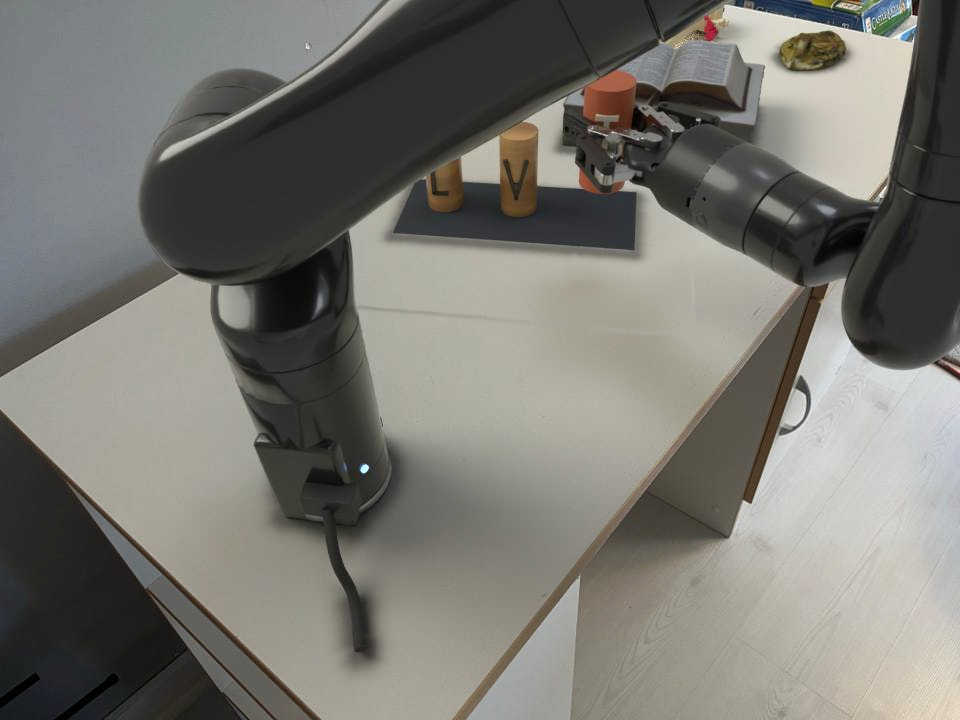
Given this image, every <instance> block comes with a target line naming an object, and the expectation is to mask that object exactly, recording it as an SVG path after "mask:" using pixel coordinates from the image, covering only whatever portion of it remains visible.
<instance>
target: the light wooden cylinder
mask: <svg viewBox="0 0 960 720" xmlns="http://www.w3.org/2000/svg"><path fill="white" fill-rule="evenodd" d="M498 149H499V150H498V151H499V156H498V157H499V184H500V206H501V210H502V212H503V213H504V214H506V215H508V216H512V217H525V216H528V215H531V214H532V213H534V212H535V210H536V208H537V186H538V174H539V173H538V172H539V171H538V169H539V168H538V167H539V128H538V127H537V125H535V124H534V123H531V122H528V121H522V122H520V123H519V124H517V125H515V126H514V127H512V128H510V129H508V130H507V131H505V132H503V133H502V134H500V135H498Z"/></svg>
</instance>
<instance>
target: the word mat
mask: <svg viewBox="0 0 960 720" xmlns="http://www.w3.org/2000/svg"><path fill="white" fill-rule="evenodd" d="M463 193H464V204H463V205H462V207H460V208H459V209H457V210H455V211H452V212H438V211H435V210H433V209H431V208H430V206H429V204H428V195H427V186H426V178H425V179H424V178H422V179H420V180H419V181H417V182H416V183H414V184H413V185H412V188H411V189H410V193H409V195H408V197H407V199H406V202H405V204H404V206H403V208H402V210H401V212H400V214H399V218H398V220H397V222H396V225H395V226H394V229H393V232H392V234H400V235H413V236H414V235H415V236H428V237H429V236H430V237H443V238H458V239H469V240H470V239H471V240H483V241H498V242H511V243H512V242H513V243H526V244H538V245H539V244H541V245H554V246H568V247H569V246H570V247H582V248H583V247H584V248H594V249H595V248H596V249H611V250H623V251H624V250H625V251H635V241H636V220H637V219H636V216H637V214H636V213H637V191H624V190H619V191H617V192H614V193H610V194H596V193H591V192H589V191H586V190H585V189H583V188H574V187H559V186H542V185H541V186H540V185H537V208H536V210H535V212H534V213H532V214H531V215H528V216H525V217H512V216H508V215H506V214H504V213H503V212H502V210H501V206H500V183H491V182H490V183H489V182H474V181H463Z"/></svg>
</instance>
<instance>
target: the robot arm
mask: <svg viewBox="0 0 960 720" xmlns="http://www.w3.org/2000/svg"><path fill="white" fill-rule="evenodd" d="M733 1H734V0H380V1H379V2H378V3H377V4H376V5H375V7H374V8H373V9H371V11H370V12H369V13H368V14H367V15H366V16H365V17H364V19H363V20H361V21H360V22H359V24H358V25H357V26H356V27H355V28H354V29H353V30H352V31H351V32H350V33H349V34H348V35H347V36H346V37H345V38H344V39H342V41H341V42H340V43H338V44H337V46H335V47H334V48H333V49H332V50H331V51H329V52H328V53H326V55H325V56H323V57H322V58H321V59H319V60H318V61H317V62H316V63H314V64H313V65H312V66H310V67H308V68H307V69H306V70H304V71H303V72H301V73H300V74H298V75H296V76H295V77H294V78H292V79H290V80H289V81H286V80H284V79H282V78H280V77H278V76H275V75H274V74H271V73H269V72H266V71H262V70H259V69H254V68H246V67H245V68H243V67H239V68H238V67H237V68H235V67H234V68H226V69H222V70H218V71H215V72H212V73H209V74H208V75H205V76H204V77H202V78H200V79H199V80H197V81H196V82H195V83H193V84H192V85H191V86H190V87H189V88H188V89H187V90H186V91H185V92H184V93H183V94H182V96H181V97H180V99H179V100H178V102H177V103H176V105H175V107H174V109H173V111H172V113H171V114H170V115H169V116H168V119H167V120H166V122H165V124H164V126H163V127H162V129H161V131H160V133H158V136H157V137H156V140H155V141H154V143H153V145H152V147H151V148H150V150H149V152H148V154H147V156H146V158H145V162H144V164H143V168H142V171H141V174H140V177H139V184H138V191H137V212H138V218H139V223H140V226H141V229H142V232H143V235H144V237H145V239H146V242H147V243H148V244H149V246H150V248H151V249H152V251H153V253H155V255H156V256H157V257H158V259H159V260H161V261H162V262H163V263H164V264H165V265H166V266H167V267H169V268H170V269H171V270H173V271H174V272H176V273H178V274H180V275H182V276H184V277H186V278H189V279H191V280H193V281H196V282H200V283H204V284H207V285H210V299H209V300H210V305H209V307H210V309H209V310H210V311H209V312H210V316H211V317H210V318H211V322H212V325H213V328H214V331H215V333H216V336H217V338H218V341H219V344H220V346H221V348H222V352H223V354H224V356H225V358H226V360H227V363H228V365H229V367H230V370H231V372H232V376H233V378H234V381H235V383H236V385H237V387H238V390H239V392H240V395H241V398H242V400H243V402H244V405H245V407H246V409H247V412H248V414H249V417H250V420H251V422H252V424H253V426H254V429H255V431H256V434H257V435H256V437H255V439H254V441H253V449H254V450H255V453H256V455H257V457H258V459H259V462H260V465H261V467H262V469H263V471H264V474H265V476H266V478H267V481H268V483H269V486H270V488H271V491H272V492H273V495H274V497H275V499H276V502H277V504H278V507H279V509H280V511H281V514H282V516H283V517H285V518H292V519H300V520H308V521H311V522H317V523H323V529H324V538H325V545H326V550H327V555H328V558H329V562H330V565H331V568H332V570H333V572H334V574H335V576H336V578H337V580H338V581H339V583H340V585H341V586H342V588H343V590H344V592H345V595H346V598H347V601H348V606H349V610H350V616H351V630H352V631H351V632H352V642H353V650H354V652H355V653H362V652H364V651H366V650H367V643H366V635H365V634H366V633H365V622H364V613H363V608H362V602H361V599H360V595H359V592H358V588H357V587H356V584H355V582H354V580H353V579H352V577H351V575H350V573H349V572H348V570H347V568H346V567H345V564H344V561H343V558H342V554H341V551H340V547H339V542H338V541H339V539H338V534H337V525H336V524H338V525H344V526H355V525H356V524H357V523H358V521H359V520H358V519H359V517H360V515H361V514H362V513H364V512H366V511H367V510H369V509H370V508H371V507H372V506H373V505H375V504H376V503H377V502H378V501H379V500H380V499H381V497H382V496H383V495H384V494H385V492H386V490H387V488H388V487H389V483H390V481H391V477H392V471H393V466H392V460H391V455H390V452H389V450H388V449H389V448H388V447H387V442H386V438H385V432H384V430H383V427H384V424H383V420H382V417H381V414H380V409H379V405H378V399H377V395H376V390H375V386H374V381H373V377H372V371H371V367H370V362H369V357H368V353H367V349H366V343H365V342H366V341H365V337H364V334H363V333H364V332H363V328H362V324H361V323H362V322H361V318H360V314H359V309H358V305H357V299H356V291H355V267H354V264H355V263H354V254H353V246H352V240H351V235H350V230H351V229H352V228H353V227H355V226H356V225H357V224H359V223H360V222H362V221H363V220H364V219H366V218H368V216H370V215H371V214H373V213H374V212H375V211H376V210H378V209H379V208H381V207H382V206H383V205H385V204H386V203H388V202H389V201H390V200H392V199H394V198H395V197H396V196H398V195H400V193H402V192H404V191H405V190H406V189H408V188H410V187H411V186H414V183H416V182H417V181H419V180H420V179H424V178H426V176H427V175H429V174H430V173H432V172H434V171H436V170H437V169H439V168H441V167H443V166H444V165H446V164H448V163H450V162H452V161H453V160H455V159H457V158H459V157H461V158H462V157H463V156H465V155H466V154H469V153H471V152H472V151H474V150H476V149H478V148H479V147H481V146H483V145H485V144H486V143H488V142H490V141H491V140H494V139H495V138H497V137H499V135H500V134H502V133H503V132H505V131H507V130H508V129H510V128H512V127H514V126H515V125H517V124H519V123H520V122H525V121H526V120H528V119H529V118H531V117H533V116H534V115H536V114H537V113H539V112H542V111H543V110H544V109H546V108H548V107H550V106H552V105H553V104H555V103H557V102H559V101H562V100H563V99H566V98H567V96H568V95H570V94H572V93H574V92H576V91H578V90H580V89H582V88H584V87H586V86H588V85H590V84H592V83H594V82H596V81H598V80H599V79H600V78H603V77H605V76H606V75H608V74H610V73H612V72H613V71H615V70H617V69H619V68H620V67H622V66H624V65H626V64H627V63H629V62H631V61H633V60H634V59H636V58H638V57H640V56H641V55H643V54H645V53H647V52H648V51H650V50H652V49H654V48H655V47H657V46H659V45H660V41H661V42H666V41H668V40H669V39H671V38H673V37H674V36H676V35H677V34H679V33H681V32H682V31H684V30H685V29H687V28H689V27H690V26H692V25H693V24H695V23H696V22H698V21H700V20H701V19H703V18H704V17H706V16H708V15H709V14H711V13H713V12H714V11H716V10H718V9H719V8H721V7H723V6H724V7H725V6H726V5H728V4H729V3H731V2H733ZM670 115H673V116H676V117H678V118H679V123H675V122H674V121H673V120H672V119H671V118H670ZM720 120H721V118H720V117H718V116H715V115H712V114H708V113H705V112H701V111H698V110H694V109H690V108H687V107H683V106H680V105H676V104H673V103H669V102H659V103H658V107H657V108H652V107H651V106H649V105H640V106H638V105H636V104H634V108H633V117H632V125H631V129H628V128H625V127H621V126H619V127H617V128H616V129H614V130H613V129H609V128H606V127H603V126H600V125H596V123H595V122H594V121H592V120H589V119H588V118H586V117H585V116H583V115H581V114H579V113H577V112H576V111H574V110H569V111H566V112H564V111H563V114H562V134H563V136H566V137H568V138H569V139H572V140H573V141H574V142H576V143H577V146H576V147H575V148H576V150H575V156H574V163H575V165H576V166H577V167H578V168H579V170H580V169H581V171H582V172H583V173H584V174H585V175H586V176H587V178H588V179H589V180H590V181H591V182H592V183H593V185H594V186H595V187H596V188H597V189H598V191H599V192H601V193H610V192H612V190H613V183H617V182H622V181H625V182H626V181H629V182H630V183H631V184H633V185H636V186H640V187H644V188H647V189H649V190H650V191H651V193H652V195H653V196H654V199H655V200H656V202H657V204H658V205H659V206H660V207H661V208H662V209H663V210H665V211H666V212H668V213H670V214H671V215H673V216H674V217H676V218H677V219H680V220H681V221H683V222H684V223H686V224H688V225H689V226H691V227H692V228H694V229H695V230H698V231H699V232H701V233H702V234H704V235H706V236H707V237H709V238H711V239H712V240H714V241H715V242H717V243H719V244H721V245H722V246H724V247H726V248H729V249H731V250H734V251H736V252H739V253H741V254H743V255H745V256H746V257H749V258H750V259H752V260H754V261H755V262H757V263H759V264H760V265H761V266H763V267H765V268H767V269H769V270H770V271H772V272H774V273H775V274H776V275H778V276H779V277H781V278H783V279H785V280H786V281H789V282H790V283H792V284H795V285H796V286H799V287H804V288H815V287H820V286H823V285H827V284H829V283H832V282H835V281H840V280H843V279H845V281H844V284H843V289H842V294H841V301H840V302H841V303H840V306H841V307H840V313H841V321H842V324H843V325H842V326H843V329H844V331H845V334H846V337H847V338H848V340H849V342H850V343H851V345H852V347H853V348H854V349H855V350H856V351H857V353H859V354H860V355H861V356H862V357H863V358H865V359H866V360H867V361H868V362H870V363H872V364H873V365H876V366H878V367H880V368H884V369H886V370H887V369H888V370H894V371H913V370H917V369H921V368H924V367H927V366H929V365H931V364H934V363H935V362H938V361H939V360H941V359H942V358H944V357H945V356H946V355H948V354H949V353H950V352H952V351H953V350H954V349H955V348H956V347H958V346H959V345H960V0H919V3H918V11H917V18H916V26H915V32H914V40H913V46H912V52H911V60H910V65H909V71H908V76H907V82H906V86H905V92H904V97H903V102H902V107H901V111H900V116H899V121H898V125H897V130H896V133H895V134H896V135H895V140H894V144H893V149H892V154H891V159H890V165H889V170H888V176H887V182H886V189H885V192H884V194H883V196H882V198H881V201H873V200H867V199H861V198H856V197H853V196H850V195H847V194H846V193H844V192H842V191H840V190H839V189H837V188H835V187H833V186H831V185H829V184H827V183H825V182H823V181H820V180H818V179H816V178H814V177H813V176H811V175H809V174H807V173H804V172H802V171H800V170H799V169H797V168H796V167H794V166H793V165H791V164H790V163H789V162H787V161H786V160H785V159H783V158H781V157H779V156H777V155H775V154H774V153H771V152H769V151H767V150H765V149H763V148H761V147H759V146H757V145H755V144H753V143H752V142H751V143H749V142H747V141H745V140H743V139H740V138H738V137H736V136H734V135H732V134H730V133H728V132H726V131H724V130H722V129H720V128H719V124H720ZM635 129H636V130H635ZM601 139H603V140H606V141H607V142H608V149H606V148H602V147H600V145H601ZM623 141H626V142H625V144H624V149H623V157H622V155H621V152H622V143H623Z"/></svg>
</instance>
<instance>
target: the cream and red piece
mask: <svg viewBox="0 0 960 720" xmlns="http://www.w3.org/2000/svg"><path fill="white" fill-rule="evenodd" d="M725 9H726V7H725V5H724V6H723V7H721V8H719V9H718V10H716V11H714V12H713V13H711V14H709V15H708V16H706V17H704V18H703V19H701V20H700V21H698V22H696V23H695V24H693V25H692V26H690V27H689V28H687V29H685V30H684V31H682V32H681V33H679V34H677V35H676V36H674V37H673V38H671V39H669V40H668V41H666V42H661V41H660V43H665V44H668V45H670V46H671V47H672V48H673V49H675V46H676V45H678V44H679V43H680V42H681V41H682V40H684V39H685V37H688V36H690V35H691V34H693V32H696V31H700V32H704V33H705V34H704V38H705V39H703V40H702V41H710V42H713V40H715V39H716V36H717V35H718V34H719V32H720V29H724V28H728V27H729V22H730V20H728V19H726V18H724V17H723V15H724V13H725Z"/></svg>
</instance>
